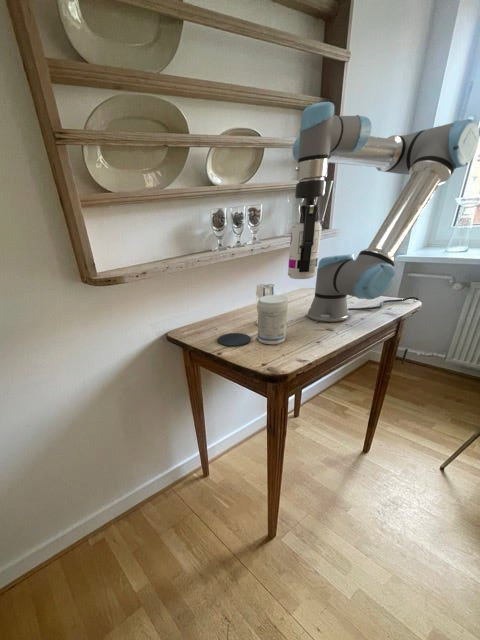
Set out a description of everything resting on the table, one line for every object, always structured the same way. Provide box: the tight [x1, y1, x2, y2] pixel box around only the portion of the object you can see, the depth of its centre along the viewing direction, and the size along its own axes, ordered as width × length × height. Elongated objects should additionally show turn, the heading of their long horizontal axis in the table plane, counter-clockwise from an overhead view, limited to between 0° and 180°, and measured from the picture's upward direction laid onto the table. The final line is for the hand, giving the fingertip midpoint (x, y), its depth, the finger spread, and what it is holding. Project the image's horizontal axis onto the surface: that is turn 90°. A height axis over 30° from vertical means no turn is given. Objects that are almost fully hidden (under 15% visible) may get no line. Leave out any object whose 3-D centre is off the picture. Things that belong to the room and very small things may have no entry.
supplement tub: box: [257, 294, 289, 345], centre depth 102 cm, size 10×10×15 cm
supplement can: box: [287, 220, 323, 280], centre depth 89 cm, size 8×8×15 cm
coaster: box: [217, 332, 252, 347], centre depth 109 cm, size 12×12×1 cm
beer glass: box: [255, 283, 275, 326], centre depth 117 cm, size 7×7×15 cm
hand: (302, 269), depth 92 cm, fingers closed on supplement can, 8 cm apart
